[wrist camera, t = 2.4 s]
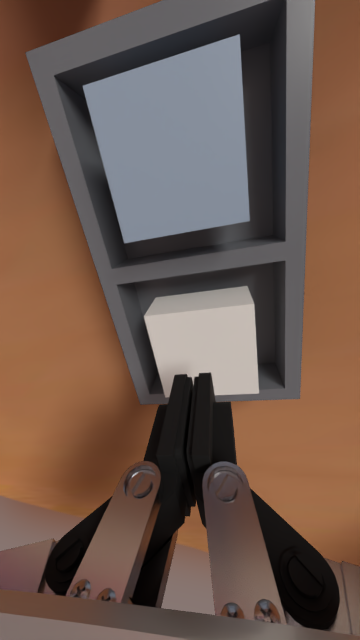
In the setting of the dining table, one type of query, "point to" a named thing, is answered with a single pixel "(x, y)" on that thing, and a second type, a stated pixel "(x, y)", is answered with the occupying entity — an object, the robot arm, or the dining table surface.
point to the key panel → (262, 172)
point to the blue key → (174, 142)
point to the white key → (206, 338)
